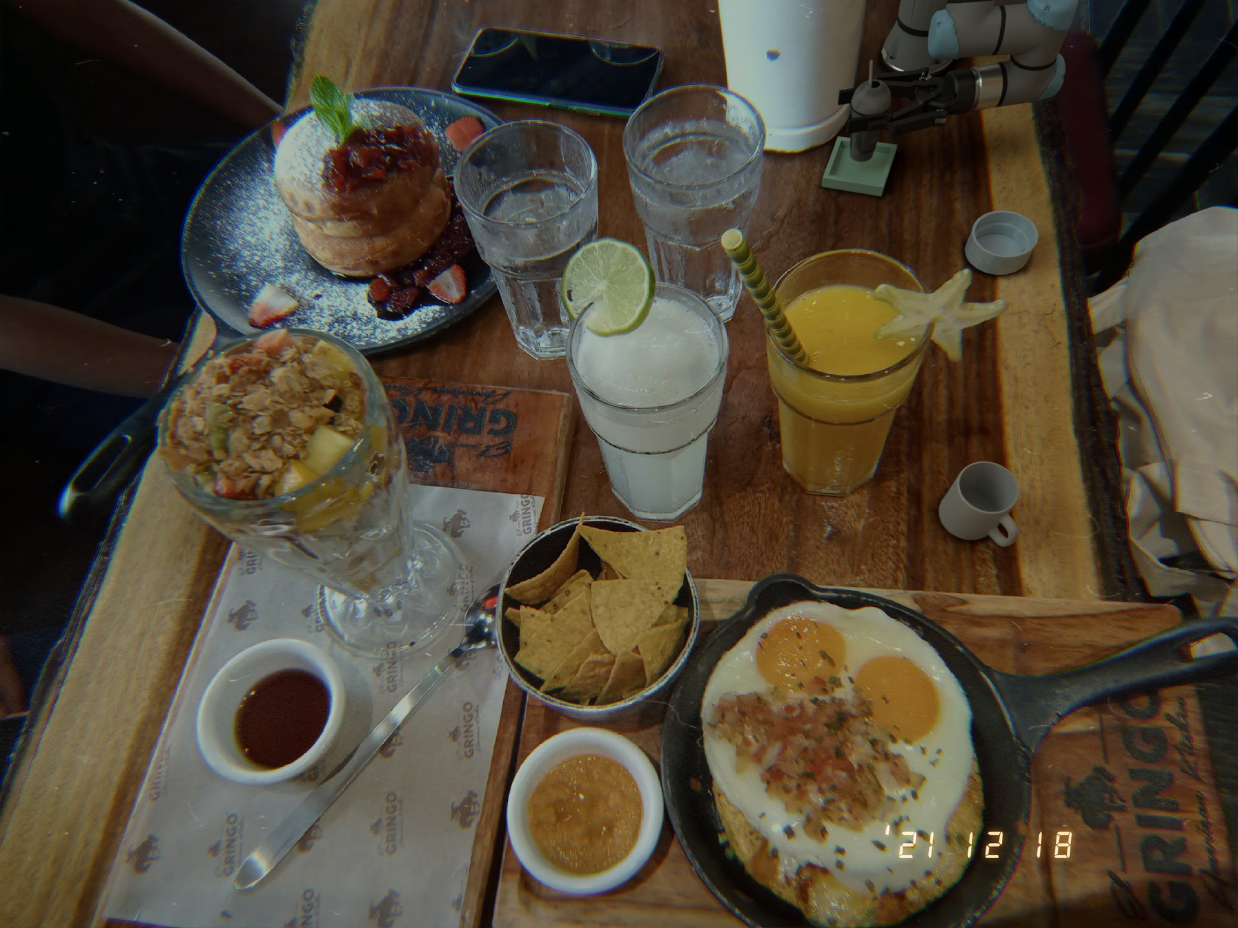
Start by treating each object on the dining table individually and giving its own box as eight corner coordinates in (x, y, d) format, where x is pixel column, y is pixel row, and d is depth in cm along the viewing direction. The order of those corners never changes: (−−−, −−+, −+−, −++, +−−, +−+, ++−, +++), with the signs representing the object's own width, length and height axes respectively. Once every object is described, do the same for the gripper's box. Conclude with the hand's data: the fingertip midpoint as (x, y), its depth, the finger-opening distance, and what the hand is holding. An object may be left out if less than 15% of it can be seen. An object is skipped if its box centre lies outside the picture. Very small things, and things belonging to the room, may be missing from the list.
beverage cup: (879, 167, 143) (899, 74, 126) (841, 166, 145) (855, 74, 127) (881, 141, 146) (901, 47, 129) (843, 140, 148) (858, 47, 130)
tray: (836, 145, 153) (837, 136, 151) (895, 154, 150) (897, 144, 148) (821, 186, 149) (822, 177, 147) (881, 196, 146) (883, 187, 143)
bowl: (970, 225, 139) (978, 205, 135) (1032, 236, 136) (1042, 216, 132) (959, 269, 135) (966, 250, 131) (1023, 281, 132) (1033, 262, 128)
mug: (926, 506, 117) (944, 477, 107) (971, 481, 117) (993, 450, 107) (976, 569, 111) (999, 544, 101) (1023, 542, 112) (1051, 516, 102)
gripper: (979, 144, 133) (852, 166, 135) (949, 73, 142) (830, 94, 145) (992, 108, 127) (858, 131, 129) (959, 36, 136) (834, 59, 138)
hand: (843, 112), depth 137 cm, fingers closed on beverage cup, 7 cm apart
